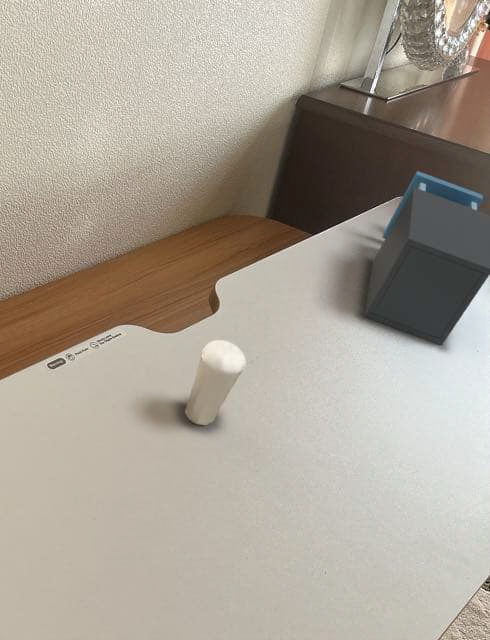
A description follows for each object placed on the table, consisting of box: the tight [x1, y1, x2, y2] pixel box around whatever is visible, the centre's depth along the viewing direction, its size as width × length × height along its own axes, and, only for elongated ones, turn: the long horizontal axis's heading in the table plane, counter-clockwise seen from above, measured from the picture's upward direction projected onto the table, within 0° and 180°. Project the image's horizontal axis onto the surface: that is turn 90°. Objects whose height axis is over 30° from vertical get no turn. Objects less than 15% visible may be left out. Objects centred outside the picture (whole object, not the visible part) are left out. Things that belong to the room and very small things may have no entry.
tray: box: [382, 170, 484, 240], centre depth 120 cm, size 16×9×10 cm, turn 164°
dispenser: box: [364, 187, 490, 346], centre depth 114 cm, size 14×11×12 cm
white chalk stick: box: [184, 339, 259, 426], centre depth 91 cm, size 4×5×10 cm
